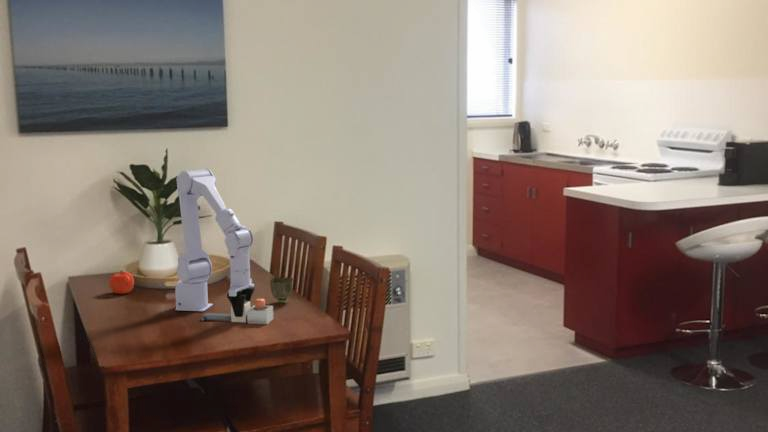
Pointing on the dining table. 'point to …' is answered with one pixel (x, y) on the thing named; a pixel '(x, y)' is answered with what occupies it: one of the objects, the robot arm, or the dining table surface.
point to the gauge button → (259, 303)
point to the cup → (281, 289)
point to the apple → (121, 283)
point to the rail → (217, 317)
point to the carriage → (243, 318)
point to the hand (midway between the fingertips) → (241, 314)
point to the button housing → (260, 315)
